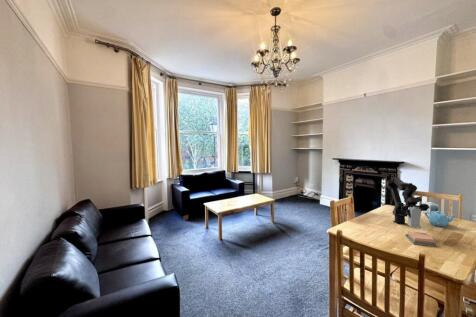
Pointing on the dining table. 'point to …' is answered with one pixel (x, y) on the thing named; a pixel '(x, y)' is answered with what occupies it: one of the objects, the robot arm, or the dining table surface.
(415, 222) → the column brick
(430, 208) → the light bulb box
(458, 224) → the dining table surface
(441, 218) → the teapot
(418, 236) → the pinkish brown square block
